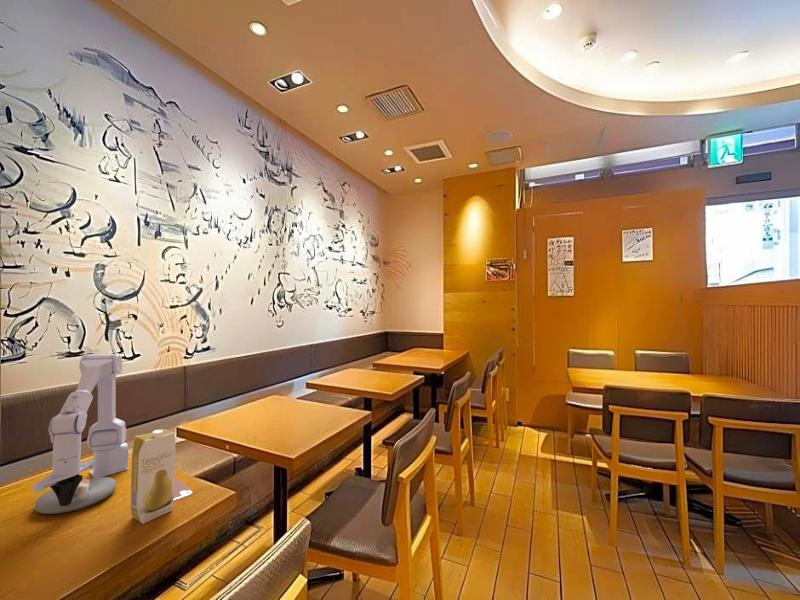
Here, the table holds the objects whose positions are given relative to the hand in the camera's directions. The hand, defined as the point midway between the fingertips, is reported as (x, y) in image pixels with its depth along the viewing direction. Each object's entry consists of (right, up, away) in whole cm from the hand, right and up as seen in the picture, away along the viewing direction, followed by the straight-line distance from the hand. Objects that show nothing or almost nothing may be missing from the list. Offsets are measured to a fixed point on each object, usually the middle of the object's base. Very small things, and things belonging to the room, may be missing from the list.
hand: (65, 504), depth 97 cm
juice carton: (+24, -4, +2) cm, 24 cm away
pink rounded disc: (-5, -1, +8) cm, 9 cm away
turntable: (-4, -2, +8) cm, 10 cm away
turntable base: (-4, -4, +8) cm, 10 cm away
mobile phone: (+21, -5, +14) cm, 26 cm away
